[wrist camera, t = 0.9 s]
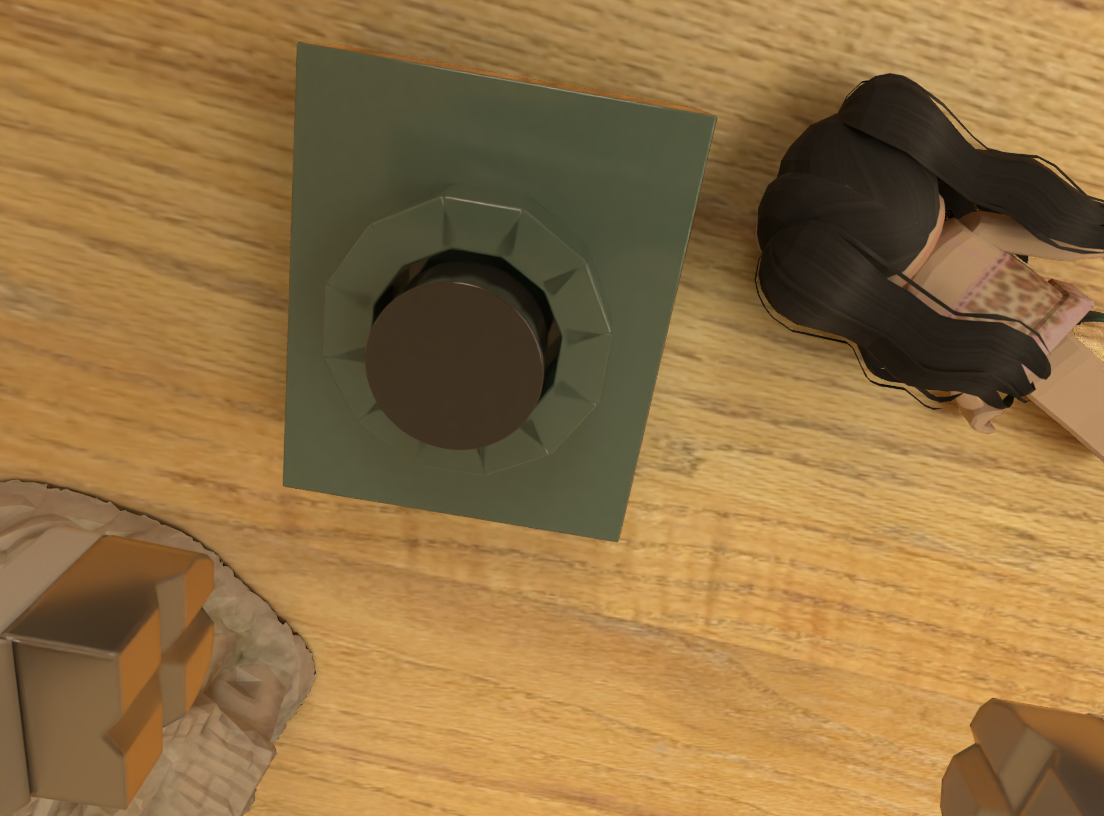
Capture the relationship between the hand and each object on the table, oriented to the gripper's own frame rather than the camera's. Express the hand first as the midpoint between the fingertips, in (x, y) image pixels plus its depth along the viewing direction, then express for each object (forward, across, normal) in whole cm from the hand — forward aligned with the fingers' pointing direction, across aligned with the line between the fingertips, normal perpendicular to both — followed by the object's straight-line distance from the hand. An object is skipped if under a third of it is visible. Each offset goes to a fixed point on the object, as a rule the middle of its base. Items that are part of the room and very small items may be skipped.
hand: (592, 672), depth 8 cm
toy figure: (+18, -11, -2) cm, 21 cm away
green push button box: (+17, +3, +1) cm, 18 cm away
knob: (+12, +3, +1) cm, 12 cm away
